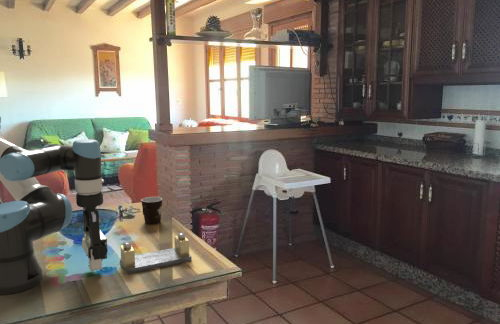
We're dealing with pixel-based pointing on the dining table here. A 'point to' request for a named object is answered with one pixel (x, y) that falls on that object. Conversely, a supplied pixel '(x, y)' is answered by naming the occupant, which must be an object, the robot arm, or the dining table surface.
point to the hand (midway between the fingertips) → (93, 261)
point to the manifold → (155, 256)
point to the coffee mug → (152, 210)
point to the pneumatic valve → (87, 244)
